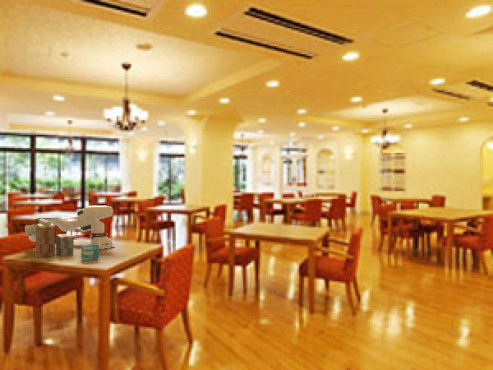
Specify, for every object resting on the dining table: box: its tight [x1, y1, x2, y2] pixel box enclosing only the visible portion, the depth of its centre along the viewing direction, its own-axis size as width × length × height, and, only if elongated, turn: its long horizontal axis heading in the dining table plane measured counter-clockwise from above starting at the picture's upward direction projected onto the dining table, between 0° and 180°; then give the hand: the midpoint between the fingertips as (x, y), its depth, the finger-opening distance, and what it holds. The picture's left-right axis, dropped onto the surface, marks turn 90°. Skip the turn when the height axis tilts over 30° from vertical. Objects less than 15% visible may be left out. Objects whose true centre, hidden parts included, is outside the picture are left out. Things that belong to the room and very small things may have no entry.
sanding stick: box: [39, 219, 51, 225], centre depth 299 cm, size 4×22×3 cm, turn 42°
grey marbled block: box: [55, 233, 75, 257], centre depth 305 cm, size 10×13×16 cm
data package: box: [80, 243, 100, 262], centre depth 288 cm, size 12×4×12 cm, turn 128°
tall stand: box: [35, 223, 57, 259], centre depth 295 cm, size 11×13×26 cm
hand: (40, 224), depth 306 cm, fingers open, 8 cm apart
